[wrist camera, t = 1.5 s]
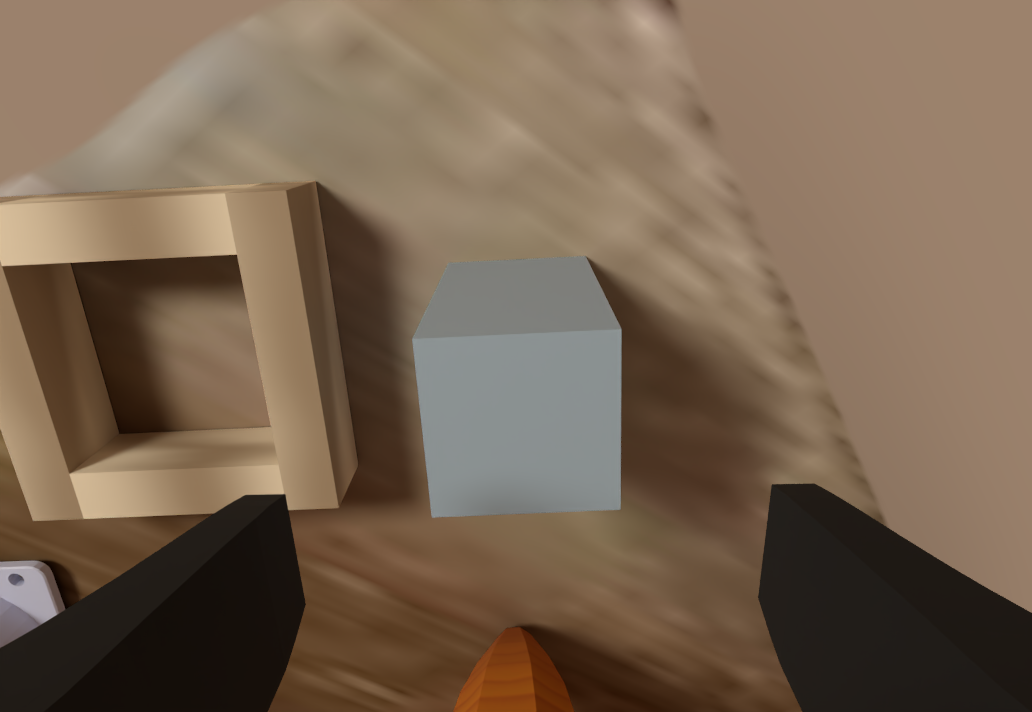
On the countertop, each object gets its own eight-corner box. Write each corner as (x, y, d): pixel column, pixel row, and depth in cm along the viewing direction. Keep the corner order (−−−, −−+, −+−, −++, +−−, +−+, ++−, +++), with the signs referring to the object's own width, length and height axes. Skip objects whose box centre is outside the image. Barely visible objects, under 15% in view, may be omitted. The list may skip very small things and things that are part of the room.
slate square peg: (459, 388, 20) (431, 517, 14) (448, 262, 19) (411, 338, 12) (587, 383, 20) (620, 509, 14) (585, 256, 19) (621, 328, 12)
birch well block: (86, 476, 21) (33, 520, 19) (-2, 197, 18) (-78, 209, 16) (358, 464, 21) (338, 508, 19) (315, 181, 18) (285, 190, 16)
